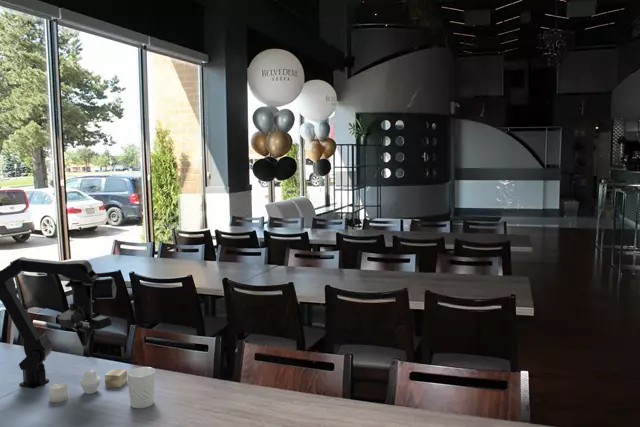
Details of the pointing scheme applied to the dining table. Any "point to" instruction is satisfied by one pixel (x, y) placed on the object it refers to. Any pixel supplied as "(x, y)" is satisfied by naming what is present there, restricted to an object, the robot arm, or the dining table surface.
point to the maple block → (115, 378)
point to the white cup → (141, 386)
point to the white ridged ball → (90, 382)
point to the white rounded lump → (58, 393)
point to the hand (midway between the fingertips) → (84, 345)
